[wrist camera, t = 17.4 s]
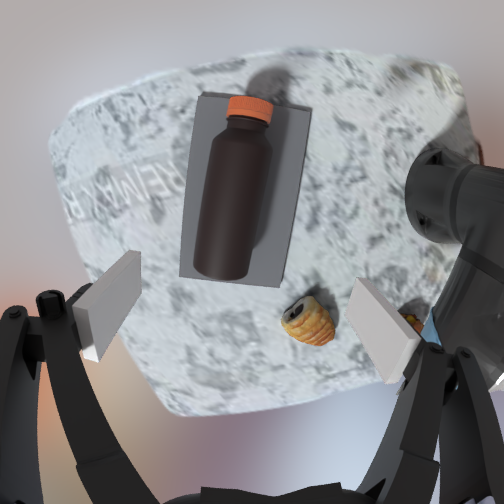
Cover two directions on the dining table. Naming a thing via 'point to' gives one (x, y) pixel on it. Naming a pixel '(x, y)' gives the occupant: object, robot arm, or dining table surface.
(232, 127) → the vinegar
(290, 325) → the pastry
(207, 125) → the mat
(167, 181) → the dining table surface
